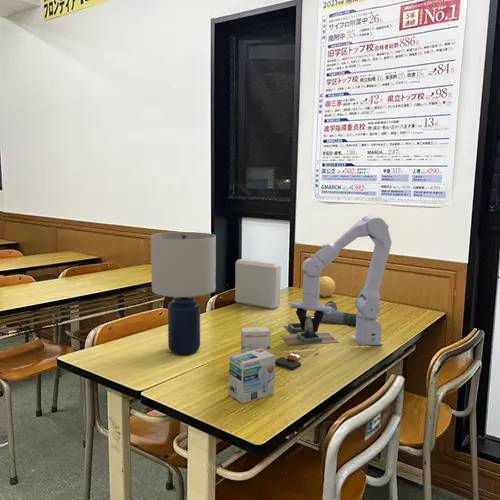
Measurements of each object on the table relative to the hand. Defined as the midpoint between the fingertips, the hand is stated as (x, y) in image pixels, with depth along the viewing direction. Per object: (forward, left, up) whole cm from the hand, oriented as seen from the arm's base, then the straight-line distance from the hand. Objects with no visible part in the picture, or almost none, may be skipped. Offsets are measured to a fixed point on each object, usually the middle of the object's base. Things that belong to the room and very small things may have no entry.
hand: (309, 330), depth 165 cm
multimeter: (-14, +10, -5) cm, 18 cm away
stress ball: (+60, -29, -4) cm, 67 cm away
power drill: (+24, -21, -4) cm, 32 cm away
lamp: (-2, +44, -4) cm, 44 cm away
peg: (0, 0, -2) cm, 2 cm away
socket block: (+11, 0, -4) cm, 12 cm away
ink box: (-19, +24, -4) cm, 31 cm away
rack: (0, 0, -4) cm, 4 cm away
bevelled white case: (+50, +7, -4) cm, 51 cm away
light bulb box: (-37, +29, -4) cm, 47 cm away
